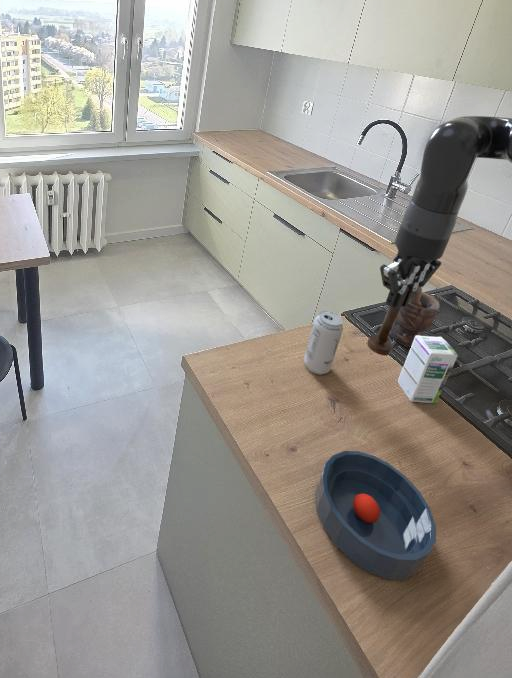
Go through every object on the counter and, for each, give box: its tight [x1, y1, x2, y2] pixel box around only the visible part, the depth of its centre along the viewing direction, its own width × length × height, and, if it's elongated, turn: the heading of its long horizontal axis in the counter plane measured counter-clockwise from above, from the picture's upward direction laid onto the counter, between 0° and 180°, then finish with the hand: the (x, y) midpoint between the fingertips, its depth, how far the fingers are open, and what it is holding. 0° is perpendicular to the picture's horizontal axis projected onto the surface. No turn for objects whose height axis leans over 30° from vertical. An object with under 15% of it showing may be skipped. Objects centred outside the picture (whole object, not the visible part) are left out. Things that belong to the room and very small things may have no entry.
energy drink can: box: [303, 310, 344, 376], centre depth 99 cm, size 6×6×15 cm
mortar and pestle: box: [389, 286, 441, 348], centre depth 107 cm, size 12×9×20 cm
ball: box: [353, 494, 380, 523], centre depth 70 cm, size 4×4×4 cm
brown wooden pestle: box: [366, 282, 409, 356], centre depth 83 cm, size 4×4×16 cm
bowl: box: [314, 450, 437, 580], centre depth 70 cm, size 16×16×6 cm
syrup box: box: [397, 335, 459, 404], centre depth 93 cm, size 6×6×14 cm
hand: (396, 304), depth 82 cm, fingers closed on brown wooden pestle, 2 cm apart
